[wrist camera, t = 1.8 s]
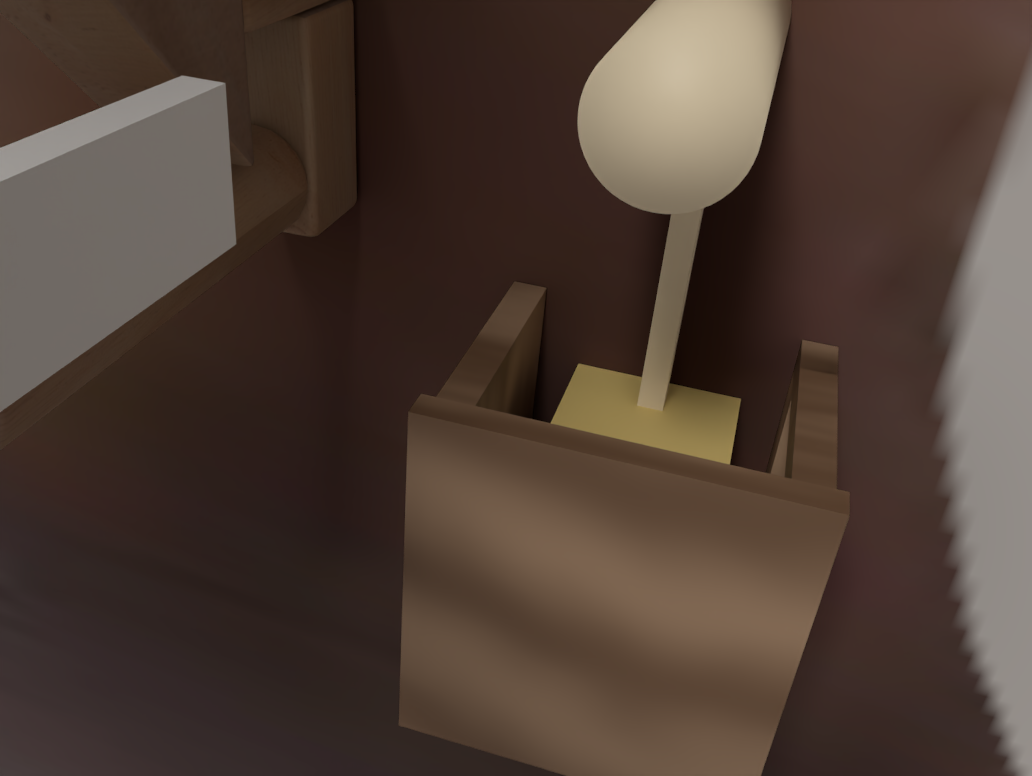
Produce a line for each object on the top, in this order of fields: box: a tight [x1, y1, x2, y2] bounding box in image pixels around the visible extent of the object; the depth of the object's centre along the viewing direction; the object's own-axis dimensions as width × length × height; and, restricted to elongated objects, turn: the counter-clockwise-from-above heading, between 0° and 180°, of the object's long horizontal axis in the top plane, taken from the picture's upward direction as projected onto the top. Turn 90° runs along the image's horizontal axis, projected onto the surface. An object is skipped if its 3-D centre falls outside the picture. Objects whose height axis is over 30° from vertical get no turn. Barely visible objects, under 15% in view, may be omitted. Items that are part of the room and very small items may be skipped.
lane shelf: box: [399, 281, 850, 776], centre depth 33 cm, size 13×12×10 cm
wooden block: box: [0, 0, 357, 450], centre depth 26 cm, size 4×11×18 cm, turn 176°
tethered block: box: [551, 0, 792, 464], centre depth 29 cm, size 22×6×12 cm, turn 175°
